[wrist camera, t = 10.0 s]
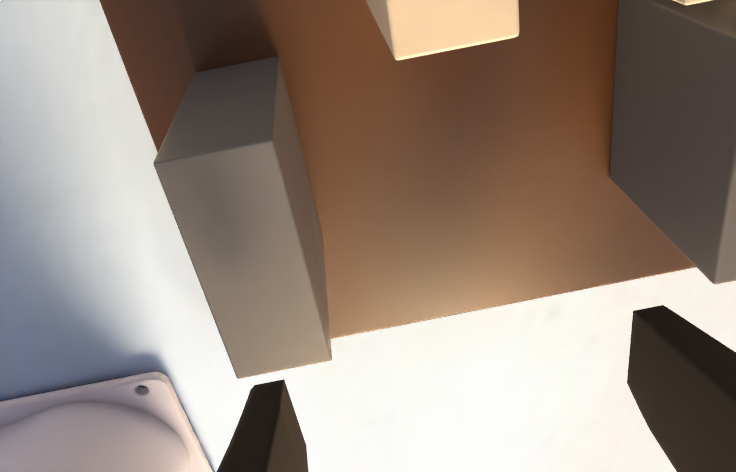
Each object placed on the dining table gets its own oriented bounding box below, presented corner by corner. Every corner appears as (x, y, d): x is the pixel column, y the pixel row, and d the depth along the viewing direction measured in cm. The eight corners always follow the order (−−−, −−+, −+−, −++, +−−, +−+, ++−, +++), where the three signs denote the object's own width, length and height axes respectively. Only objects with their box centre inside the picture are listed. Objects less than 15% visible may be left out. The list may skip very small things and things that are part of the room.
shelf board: (238, 340, 24) (235, 358, 23) (-3, -304, 13) (-23, -315, 13) (699, 249, 24) (715, 264, 23) (806, -464, 13) (841, -486, 13)
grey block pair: (251, 249, 20) (236, 379, 15) (194, 72, 17) (152, 162, 12) (680, 164, 20) (808, 267, 15) (702, -28, 17) (875, 20, 12)
